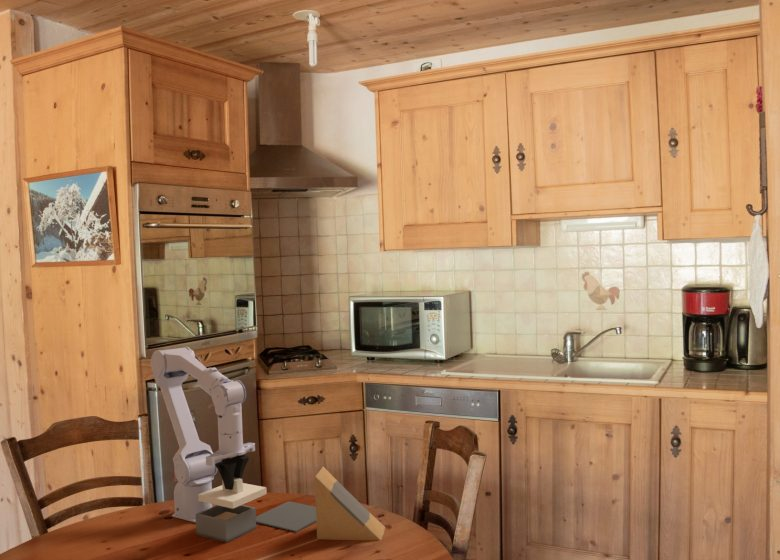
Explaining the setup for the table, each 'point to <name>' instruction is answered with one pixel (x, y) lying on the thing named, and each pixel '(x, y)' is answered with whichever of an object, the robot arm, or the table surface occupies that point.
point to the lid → (232, 494)
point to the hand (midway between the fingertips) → (232, 487)
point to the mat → (289, 516)
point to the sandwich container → (342, 513)
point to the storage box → (225, 522)
